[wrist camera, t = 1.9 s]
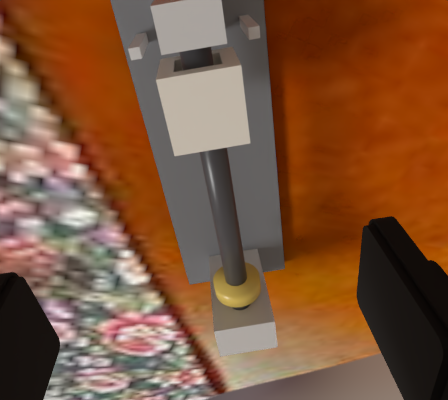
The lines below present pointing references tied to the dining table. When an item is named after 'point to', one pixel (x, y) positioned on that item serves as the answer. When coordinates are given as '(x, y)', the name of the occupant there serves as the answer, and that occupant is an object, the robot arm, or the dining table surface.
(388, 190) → the dining table surface
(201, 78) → the sleeve
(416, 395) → the robot arm
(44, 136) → the dining table surface
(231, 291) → the grey rod stand
